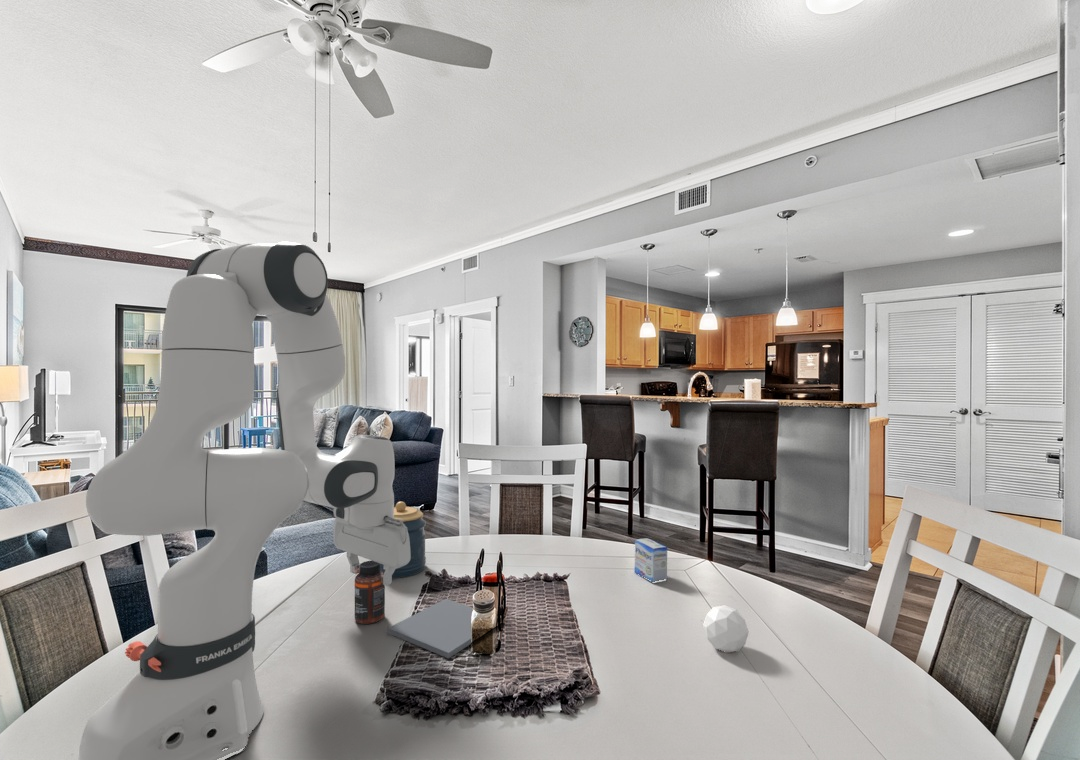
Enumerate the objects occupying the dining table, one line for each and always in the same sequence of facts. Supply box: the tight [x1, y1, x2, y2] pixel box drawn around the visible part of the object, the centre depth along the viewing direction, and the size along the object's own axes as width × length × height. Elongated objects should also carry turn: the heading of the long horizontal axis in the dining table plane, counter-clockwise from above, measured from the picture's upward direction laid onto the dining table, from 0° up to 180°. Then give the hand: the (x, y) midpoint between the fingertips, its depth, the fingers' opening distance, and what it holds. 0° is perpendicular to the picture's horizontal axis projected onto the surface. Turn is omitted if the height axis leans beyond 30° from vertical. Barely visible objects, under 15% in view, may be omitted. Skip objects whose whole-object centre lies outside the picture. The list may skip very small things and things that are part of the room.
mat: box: [387, 598, 472, 659], centre depth 100 cm, size 16×16×1 cm
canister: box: [380, 501, 427, 579], centre depth 131 cm, size 13×13×18 cm
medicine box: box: [633, 538, 668, 582], centre depth 127 cm, size 8×4×9 cm, turn 25°
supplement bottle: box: [354, 560, 386, 625], centre depth 104 cm, size 6×6×11 cm
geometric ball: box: [702, 604, 749, 653], centre depth 93 cm, size 8×8×8 cm
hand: (370, 578), depth 104 cm, fingers open, 8 cm apart
